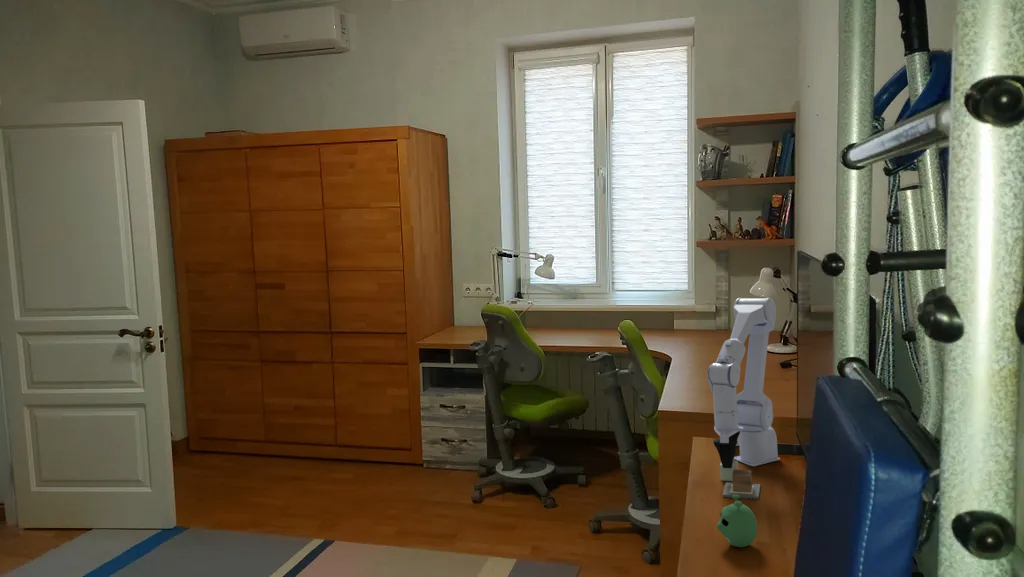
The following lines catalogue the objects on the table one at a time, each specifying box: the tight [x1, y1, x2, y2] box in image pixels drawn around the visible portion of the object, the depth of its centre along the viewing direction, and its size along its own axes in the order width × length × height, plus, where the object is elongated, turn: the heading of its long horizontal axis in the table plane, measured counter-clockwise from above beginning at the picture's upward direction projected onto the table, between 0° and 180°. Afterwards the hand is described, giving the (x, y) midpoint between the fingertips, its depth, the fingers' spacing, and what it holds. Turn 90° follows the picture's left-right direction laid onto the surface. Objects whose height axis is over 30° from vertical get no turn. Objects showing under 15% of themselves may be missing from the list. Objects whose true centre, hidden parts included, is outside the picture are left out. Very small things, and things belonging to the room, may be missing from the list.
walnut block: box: [732, 469, 753, 493], centre depth 167 cm, size 4×4×4 cm
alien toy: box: [716, 495, 758, 548], centre depth 139 cm, size 7×8×10 cm
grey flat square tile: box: [722, 482, 761, 500], centre depth 167 cm, size 8×8×1 cm
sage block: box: [719, 460, 739, 482], centre depth 177 cm, size 4×4×4 cm
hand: (728, 462), depth 177 cm, fingers open, 7 cm apart
